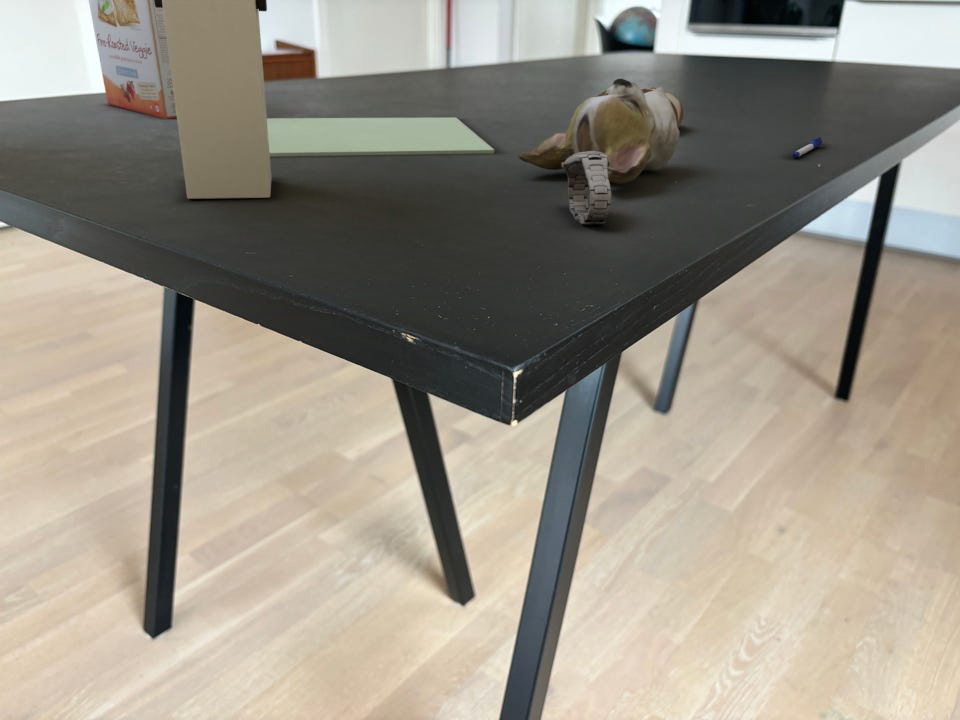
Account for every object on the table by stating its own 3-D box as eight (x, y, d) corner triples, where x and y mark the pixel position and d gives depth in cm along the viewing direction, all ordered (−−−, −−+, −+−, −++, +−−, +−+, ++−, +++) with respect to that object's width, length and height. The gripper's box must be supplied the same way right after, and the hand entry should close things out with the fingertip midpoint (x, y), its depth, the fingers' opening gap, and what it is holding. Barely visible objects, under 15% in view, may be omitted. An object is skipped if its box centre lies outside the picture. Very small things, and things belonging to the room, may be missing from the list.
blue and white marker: (814, 144, 87) (816, 135, 86) (822, 145, 86) (824, 136, 86) (790, 158, 79) (792, 148, 79) (799, 160, 79) (801, 150, 78)
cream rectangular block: (187, 199, 57) (151, -78, 49) (195, 180, 63) (164, -74, 55) (270, 197, 59) (248, -73, 51) (271, 179, 64) (252, -69, 56)
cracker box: (104, 106, 97) (69, -85, 88) (149, 102, 101) (121, -81, 92) (162, 121, 89) (131, -89, 79) (209, 115, 93) (184, -84, 84)
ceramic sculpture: (718, 74, 67) (621, 98, 57) (705, 173, 71) (613, 211, 61) (615, 64, 73) (512, 85, 64) (609, 156, 77) (512, 188, 68)
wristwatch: (596, 209, 59) (602, 143, 57) (620, 233, 54) (628, 161, 52) (551, 209, 59) (556, 143, 57) (571, 233, 53) (578, 161, 51)
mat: (200, 159, 71) (200, 153, 71) (217, 122, 89) (217, 118, 88) (494, 154, 77) (494, 149, 77) (456, 121, 94) (456, 117, 94)
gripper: (4, -358, 42) (68, 6, 50) (327, -318, 46) (339, 15, 53) (42, -314, 48) (94, 2, 56) (322, -281, 52) (333, 10, 60)
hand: (213, 5), depth 55 cm, fingers closed on cream rectangular block, 6 cm apart
